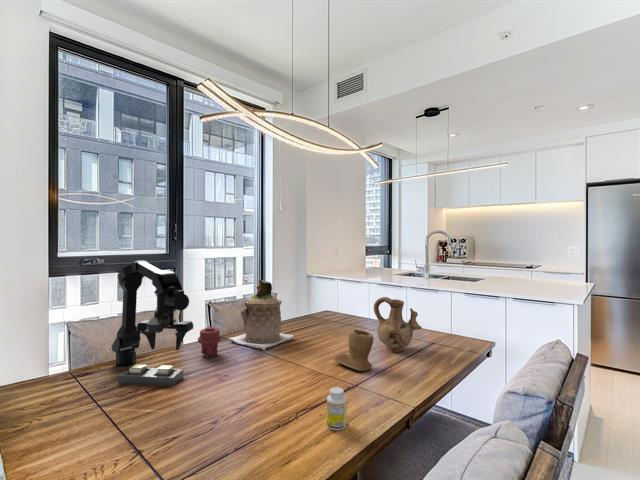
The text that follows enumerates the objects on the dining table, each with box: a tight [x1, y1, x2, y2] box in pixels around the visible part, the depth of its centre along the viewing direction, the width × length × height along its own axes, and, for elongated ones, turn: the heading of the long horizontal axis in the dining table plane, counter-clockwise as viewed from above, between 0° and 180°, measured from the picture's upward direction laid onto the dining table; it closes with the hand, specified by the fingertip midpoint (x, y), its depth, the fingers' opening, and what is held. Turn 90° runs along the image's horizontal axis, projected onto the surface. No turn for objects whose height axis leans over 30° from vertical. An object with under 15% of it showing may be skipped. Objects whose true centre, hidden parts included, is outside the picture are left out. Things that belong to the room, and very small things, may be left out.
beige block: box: [129, 364, 148, 375], centre depth 125 cm, size 4×4×5 cm
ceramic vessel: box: [373, 296, 423, 352], centre depth 164 cm, size 18×19×25 cm
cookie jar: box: [228, 279, 294, 351], centre depth 176 cm, size 25×25×32 cm
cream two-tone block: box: [156, 365, 174, 376], centre depth 125 cm, size 4×4×5 cm
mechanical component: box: [197, 326, 222, 359], centre depth 153 cm, size 12×10×10 cm
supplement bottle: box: [326, 386, 347, 431], centre depth 97 cm, size 6×6×10 cm
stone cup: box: [333, 328, 374, 372], centre depth 142 cm, size 15×12×15 cm
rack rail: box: [117, 367, 184, 387], centre depth 125 cm, size 20×8×4 cm, turn 86°
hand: (165, 349), depth 125 cm, fingers open, 9 cm apart
